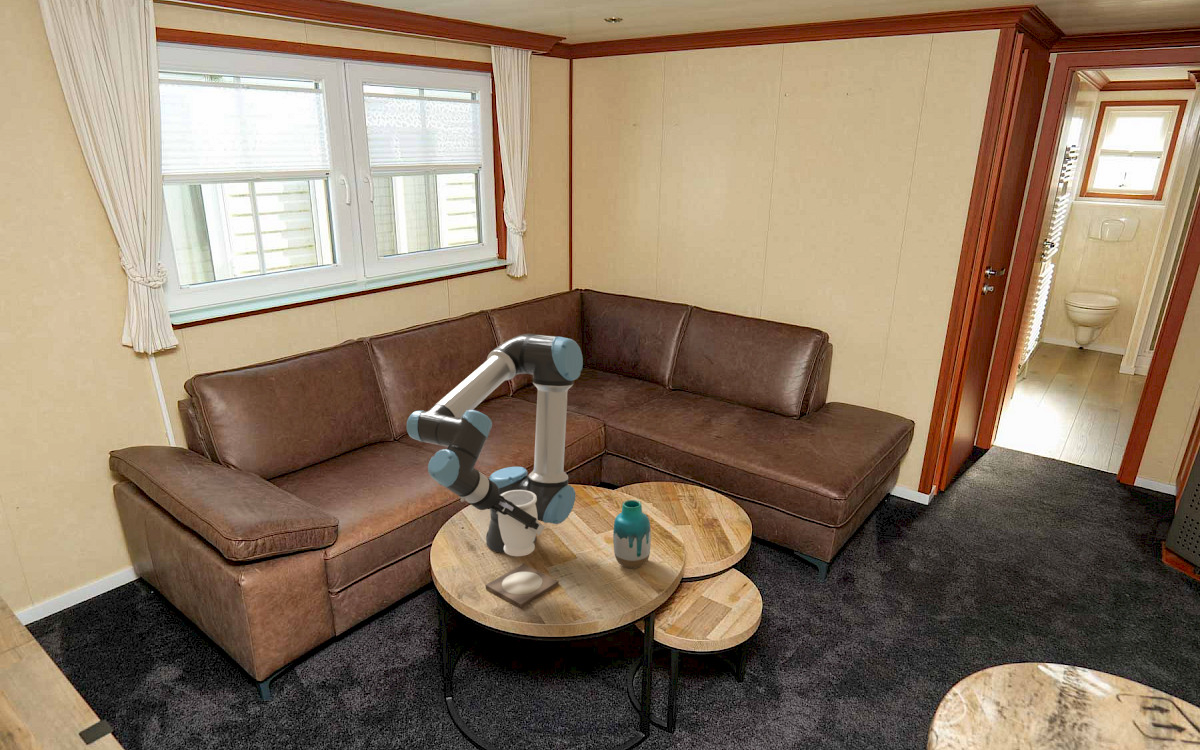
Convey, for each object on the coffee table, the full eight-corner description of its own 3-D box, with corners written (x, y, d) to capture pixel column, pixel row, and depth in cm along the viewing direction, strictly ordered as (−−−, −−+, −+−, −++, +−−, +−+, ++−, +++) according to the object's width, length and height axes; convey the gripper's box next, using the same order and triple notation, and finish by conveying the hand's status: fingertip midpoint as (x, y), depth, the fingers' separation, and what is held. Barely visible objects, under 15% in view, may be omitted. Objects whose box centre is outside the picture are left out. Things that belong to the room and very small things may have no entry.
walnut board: (485, 588, 187) (485, 584, 187) (523, 567, 197) (523, 563, 197) (521, 608, 178) (520, 604, 178) (558, 584, 189) (558, 580, 188)
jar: (495, 543, 188) (493, 492, 184) (532, 536, 191) (530, 486, 187) (504, 562, 178) (502, 509, 174) (543, 554, 182) (541, 502, 178)
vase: (647, 576, 192) (648, 513, 187) (610, 572, 194) (609, 510, 189) (652, 556, 202) (653, 496, 197) (617, 553, 204) (616, 494, 199)
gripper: (441, 491, 175) (492, 524, 191) (501, 517, 161) (550, 551, 177) (456, 465, 178) (505, 500, 194) (517, 489, 164) (564, 524, 179)
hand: (527, 524), depth 185 cm, fingers closed on jar, 10 cm apart
